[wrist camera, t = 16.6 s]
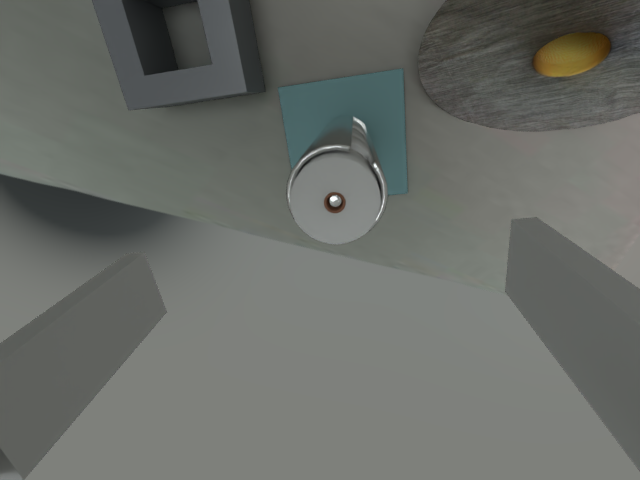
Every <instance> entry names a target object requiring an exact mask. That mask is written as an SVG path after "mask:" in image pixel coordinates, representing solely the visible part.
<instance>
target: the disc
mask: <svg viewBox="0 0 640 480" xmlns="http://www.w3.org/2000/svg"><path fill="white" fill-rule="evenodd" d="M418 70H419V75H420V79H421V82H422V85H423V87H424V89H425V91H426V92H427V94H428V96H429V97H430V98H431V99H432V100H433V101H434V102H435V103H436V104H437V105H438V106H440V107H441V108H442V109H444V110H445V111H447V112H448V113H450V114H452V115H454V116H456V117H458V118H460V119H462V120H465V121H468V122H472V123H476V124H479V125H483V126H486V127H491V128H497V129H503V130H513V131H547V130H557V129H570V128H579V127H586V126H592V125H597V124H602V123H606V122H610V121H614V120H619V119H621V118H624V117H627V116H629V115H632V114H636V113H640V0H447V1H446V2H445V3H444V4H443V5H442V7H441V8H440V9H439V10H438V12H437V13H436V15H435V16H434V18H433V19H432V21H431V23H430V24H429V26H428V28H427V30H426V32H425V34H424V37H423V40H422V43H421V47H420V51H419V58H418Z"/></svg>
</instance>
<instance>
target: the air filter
mask: <svg viewBox="0 0 640 480" xmlns="http://www.w3.org/2000/svg"><path fill="white" fill-rule="evenodd" d="M286 197H287V203H288V208H289V210H290V212H291V214H292V216H293V218H294V220H295V221H296V223H297V224H298V226H299V227H300V228H301V229H302V230H303V232H305V233H306V234H307V235H309V236H310V237H312V238H313V239H316V240H318V241H321V242H324V243H329V244H344V243H348V242H351V241H353V240H356V239H358V238H359V237H361V236H363V235H364V234H366V233H367V232H369V231H370V230H371V229H372V228H373V227H374V226H375V225H376V224H377V223H378V222H379V220H380V218H381V217H382V215H383V213H384V211H385V208H386V203H387V199H388V189H387V182H386V179H385V176H384V173H383V170H382V167H381V164H380V161H379V159H378V156H377V153H376V150H375V147H374V144H373V141H372V138H371V135H370V133H369V130H368V128H367V127H366V125H365V124H364V123H363V122H362V121H361V120H359V119H357V118H355V117H352V116H340V117H337V118H335V119H333V120H332V121H330V122H329V123H328V124H327V125H326V126H325V128H324V129H323V130H322V131H321V133H320V134H319V135H318V136H317V138H316V139H315V140H314V141H313V143H312V144H311V145H310V146H309V148H308V149H307V150H306V151H305V153H304V154H303V155H302V156H301V158H300V159H299V160H298V162H297V163H296V164H295V166H294V167H293V168H292V170H291V173H290V175H289V178H288V181H287V189H286Z"/></svg>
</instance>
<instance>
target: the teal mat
mask: <svg viewBox="0 0 640 480" xmlns="http://www.w3.org/2000/svg"><path fill="white" fill-rule="evenodd" d="M278 91H279V97H280V103H281V109H282V115H283V121H284V127H285V133H286V139H287V145H288V151H289V157H290V163H291V169H292V168H293V167H294V166H295V164H296V163H297V162H298V160H299V159H300V158H301V156H302V155H303V154H304V153H305V151H306V150H307V149H308V148H309V146H310V145H311V144H312V143H313V141H314V140H315V139H316V138H317V136H318V135H319V134H320V133H321V131H322V130H323V129H324V128H325V126H326V125H327V124H328V123H329V122H330V121H332V120H333V119H335V118H337V117H340V116H352V117H355V118H357V119H359V120H361V121H362V122H363V123H364V124H365V125H366V127H367V128H368V130H369V133H370V135H371V138H372V141H373V144H374V147H375V150H376V153H377V156H378V159H379V161H380V164H381V167H382V170H383V173H384V176H385V179H386V182H387V189H388V195H395V194H405V193H408V190H407V162H406V134H405V106H404V78H403V68H402V69H396V70H389V71H383V72H376V73H370V74H363V75H357V76H350V77H344V78H337V79H331V80H324V81H318V82H311V83H305V84H298V85H291V86H285V87H278Z"/></svg>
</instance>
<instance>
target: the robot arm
mask: <svg viewBox="0 0 640 480" xmlns="http://www.w3.org/2000/svg"><path fill="white" fill-rule="evenodd" d="M505 292H506V293H507V295H508V296H509V297H510V299H511V300H512V301H513V303H514V304H515V305H516V307H517V308H518V309H519V311H520V312H521V313H522V315H523V316H524V317H525V319H526V320H527V321H528V323H529V324H530V325H531V327H532V328H533V330H534V331H535V332H536V334H537V335H538V336H539V337H540V339H541V340H542V342H543V343H544V344H545V346H546V347H547V348H548V350H549V351H550V352H551V353H552V355H553V356H554V358H555V359H556V360H557V362H558V363H559V364H560V366H561V367H562V368H563V370H564V371H565V372H566V374H567V375H568V376H569V378H570V379H571V380H572V382H573V383H574V384H575V386H576V387H577V388H578V390H579V391H580V392H581V394H582V395H583V396H584V398H585V399H586V400H587V402H588V403H589V404H590V406H591V407H592V408H593V410H594V411H595V412H596V414H597V415H598V416H599V418H600V419H601V420H602V422H603V423H604V424H605V426H606V427H607V428H608V430H609V431H610V432H611V434H612V435H613V436H614V438H615V439H616V441H617V442H618V443H619V444H620V446H621V447H622V448H623V450H624V451H625V452H626V454H627V455H628V457H629V458H630V459H631V461H632V462H633V463H634V465H635V466H636V467H637V469H638V470H639V471H640V289H639V288H638V287H636V286H635V285H633V284H632V283H630V282H629V281H627V280H626V279H625V278H623V277H622V276H620V275H619V274H617V273H616V272H615V271H613V270H612V269H610V268H609V267H607V266H606V265H605V264H603V263H602V262H600V261H599V260H597V259H596V258H594V257H593V256H592V255H590V254H589V253H587V252H586V251H584V250H583V249H582V248H580V247H579V246H577V245H576V244H574V243H573V242H571V241H570V240H569V239H567V238H566V237H564V236H563V235H561V234H560V233H559V232H557V231H556V230H554V229H553V228H551V227H550V226H548V225H547V224H546V223H544V222H543V221H541V220H540V219H538V218H537V217H534V218H523V219H511V230H510V242H509V253H508V264H507V275H506V287H505ZM166 312H167V311H166V308H165V306H164V303H163V300H162V297H161V295H160V292H159V289H158V287H157V284H156V281H155V279H154V276H153V273H152V271H151V268H150V265H149V263H148V260H147V257H146V254H145V252H140V253H128V254H125V255H124V256H122V257H121V258H120V259H118V260H117V261H115V262H114V263H113V264H111V265H110V266H108V267H107V268H105V269H104V270H103V271H101V272H100V273H99V274H97V275H96V276H94V277H93V278H92V279H90V280H89V281H88V282H86V283H84V284H83V285H82V286H80V287H79V288H77V289H76V290H75V291H73V292H72V293H70V294H69V295H68V296H66V297H65V298H63V299H62V300H61V301H59V302H58V303H56V304H55V305H53V306H52V307H51V308H49V309H48V310H46V311H45V312H44V313H43V314H41V315H39V316H38V317H37V318H35V319H34V320H32V321H31V322H30V323H28V324H27V325H25V326H24V327H23V328H21V329H20V330H18V331H17V332H16V333H14V334H13V335H11V336H10V337H8V338H7V339H6V340H4V341H3V342H1V343H0V480H24V479H25V478H26V477H27V476H28V475H29V473H30V472H31V471H32V470H33V469H34V468H35V466H36V465H37V464H38V463H39V462H40V461H41V459H42V458H43V457H44V456H45V455H46V454H47V452H48V451H49V450H50V449H51V448H52V446H53V445H54V444H55V443H56V442H57V441H58V439H59V438H60V437H61V436H62V435H63V433H64V432H65V431H66V430H67V429H68V428H69V427H70V425H71V424H72V423H73V422H74V421H75V419H76V418H77V417H78V416H79V415H80V413H81V412H82V411H83V410H84V409H85V408H86V407H87V405H88V404H89V403H90V402H91V401H92V400H93V398H94V397H95V396H96V395H97V394H98V392H99V391H100V390H101V389H102V388H103V386H104V385H105V384H106V383H107V382H108V381H109V380H110V378H111V377H112V376H113V375H114V374H115V373H116V371H117V370H118V369H119V368H120V367H121V365H122V364H123V363H124V362H125V361H126V360H127V358H128V357H129V356H130V355H131V354H132V353H133V351H134V350H135V349H136V348H137V346H138V345H139V344H140V343H141V342H142V341H143V340H144V338H145V337H146V336H147V335H148V334H149V332H150V331H151V330H152V329H153V328H154V327H155V326H156V324H157V323H158V322H159V321H160V320H161V318H162V317H163V316H164V315H165V314H166Z"/></svg>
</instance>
